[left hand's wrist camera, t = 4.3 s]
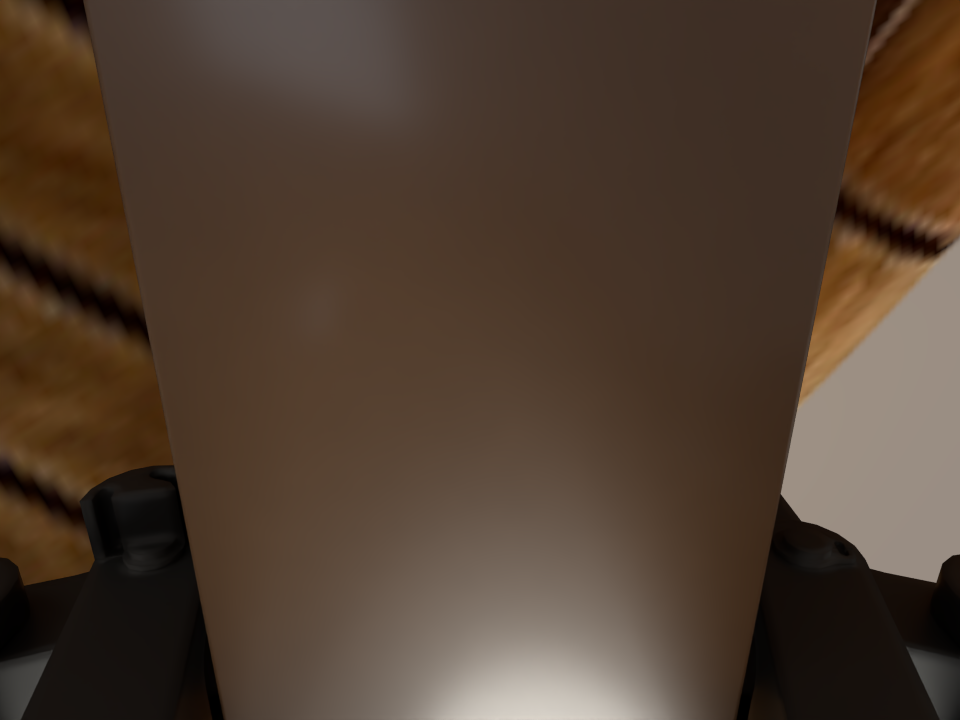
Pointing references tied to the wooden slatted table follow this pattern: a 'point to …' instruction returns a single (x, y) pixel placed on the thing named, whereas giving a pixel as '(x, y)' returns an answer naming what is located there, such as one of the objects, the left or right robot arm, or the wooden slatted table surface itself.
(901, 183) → the wooden slatted table surface
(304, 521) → the bar
